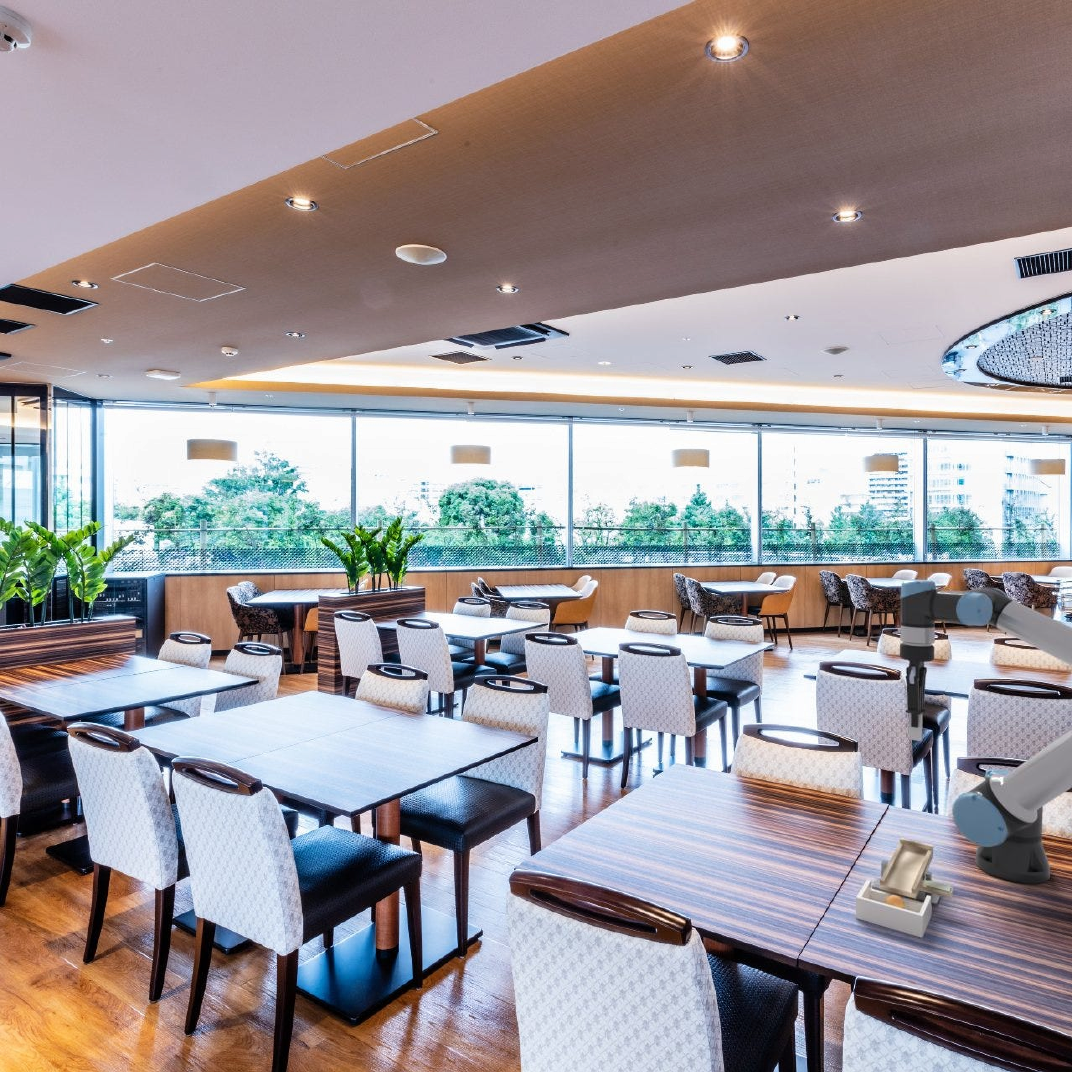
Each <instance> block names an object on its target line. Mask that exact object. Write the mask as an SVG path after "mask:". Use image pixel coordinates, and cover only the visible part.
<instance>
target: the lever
mask: <svg viewBox="0 0 1072 1072" xmlns="http://www.w3.org/2000/svg"><path fill="white" fill-rule="evenodd" d="M933 858H934V844H929V843H925V842H921V841H916V840H912V839H908V838H905V837H904V838H903V837H900V838H899V842H898V844H897V846H896V849H895V850H894V852H893V855H892V856H891V858H890V860H889V862H888V866H887V868H886V870H885V872H884V873H883V875H882V877H881V876H880V889H882V890H886V891H889V892H893V893H897V894H900V895H904V896H908V897H911V898H915V899H916V897H917V894H918V892H919V890H921V891H925V892H929V893H932V894H936V895H940V897H944V898H948V899H951V898H952V896H953V893H954V887H952V885H949V884H944V883H940V882H935V881H933V880H932V881H929V880H928V881H926V880H925V874H926V872H927V871H928V870H929V867H930V865H931V863H932V860H933Z"/></svg>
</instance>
